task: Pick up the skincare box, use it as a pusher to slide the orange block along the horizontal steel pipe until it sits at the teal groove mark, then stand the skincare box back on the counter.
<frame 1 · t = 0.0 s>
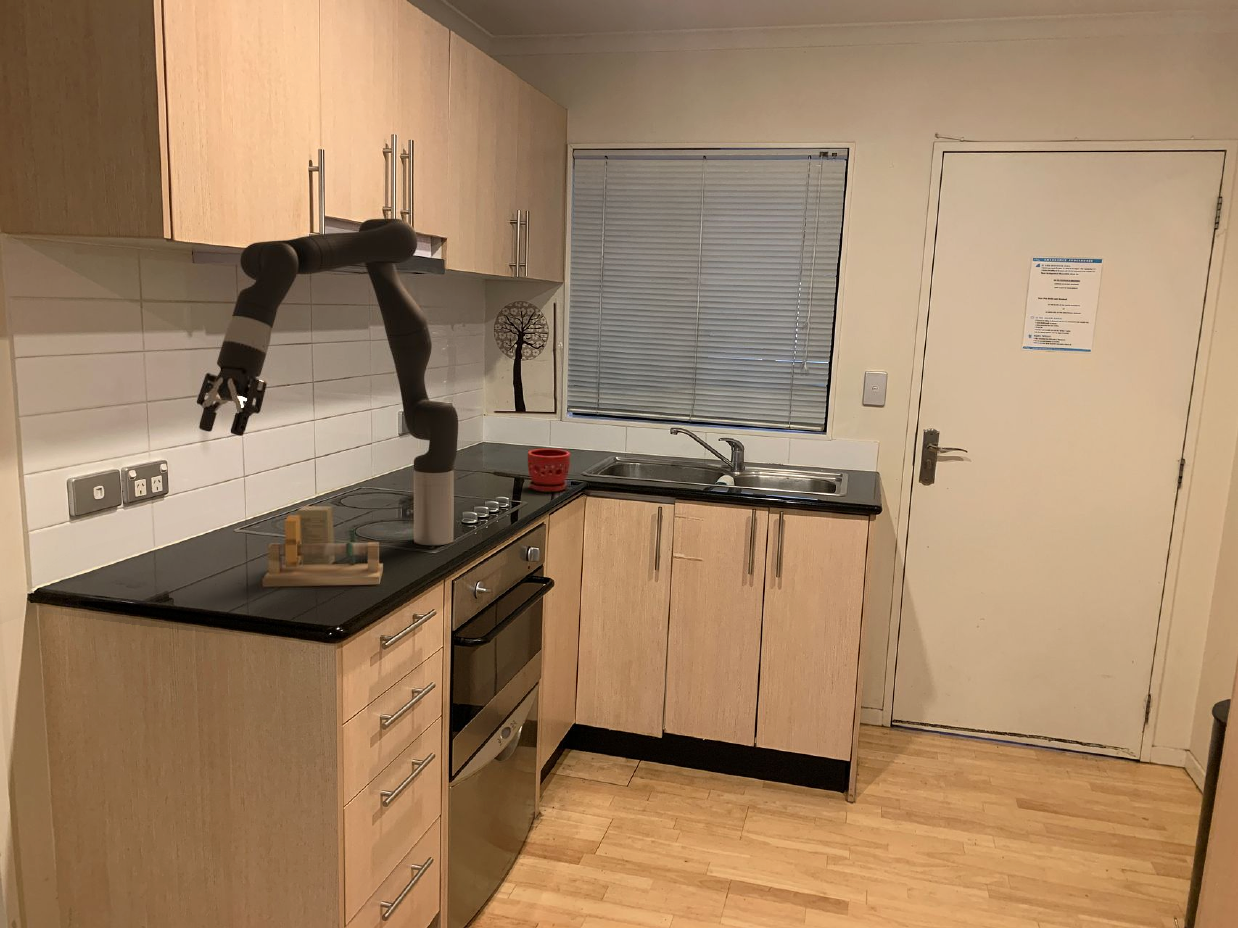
hand: (220, 432, 161), 31 cm above the counter, tool tilted 20°, fingers open, 8 cm apart
skincare box: (317, 564, 194), on the counter
plant pot: (548, 490, 283), on the counter
orange block: (293, 540, 181), point 8 cm above the counter, slide at 0.0 cm
pipe rig: (325, 578, 183), on the counter
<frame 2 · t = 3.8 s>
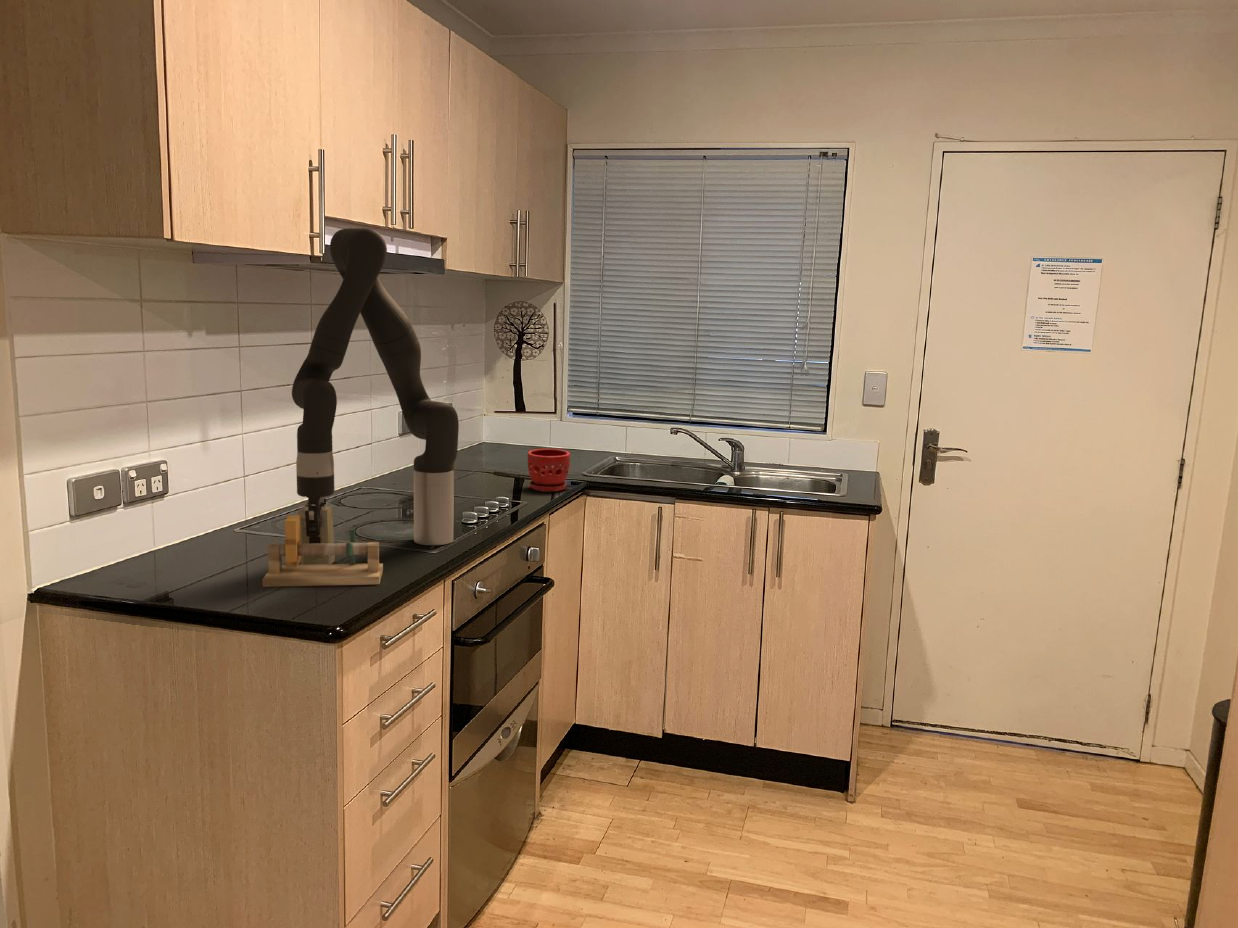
hand: (317, 550, 193), 3 cm above the counter, tool pointing down, fingers closed on skincare box, 4 cm apart
skincare box: (317, 564, 194), on the counter, touching gripper
everything else where it was.
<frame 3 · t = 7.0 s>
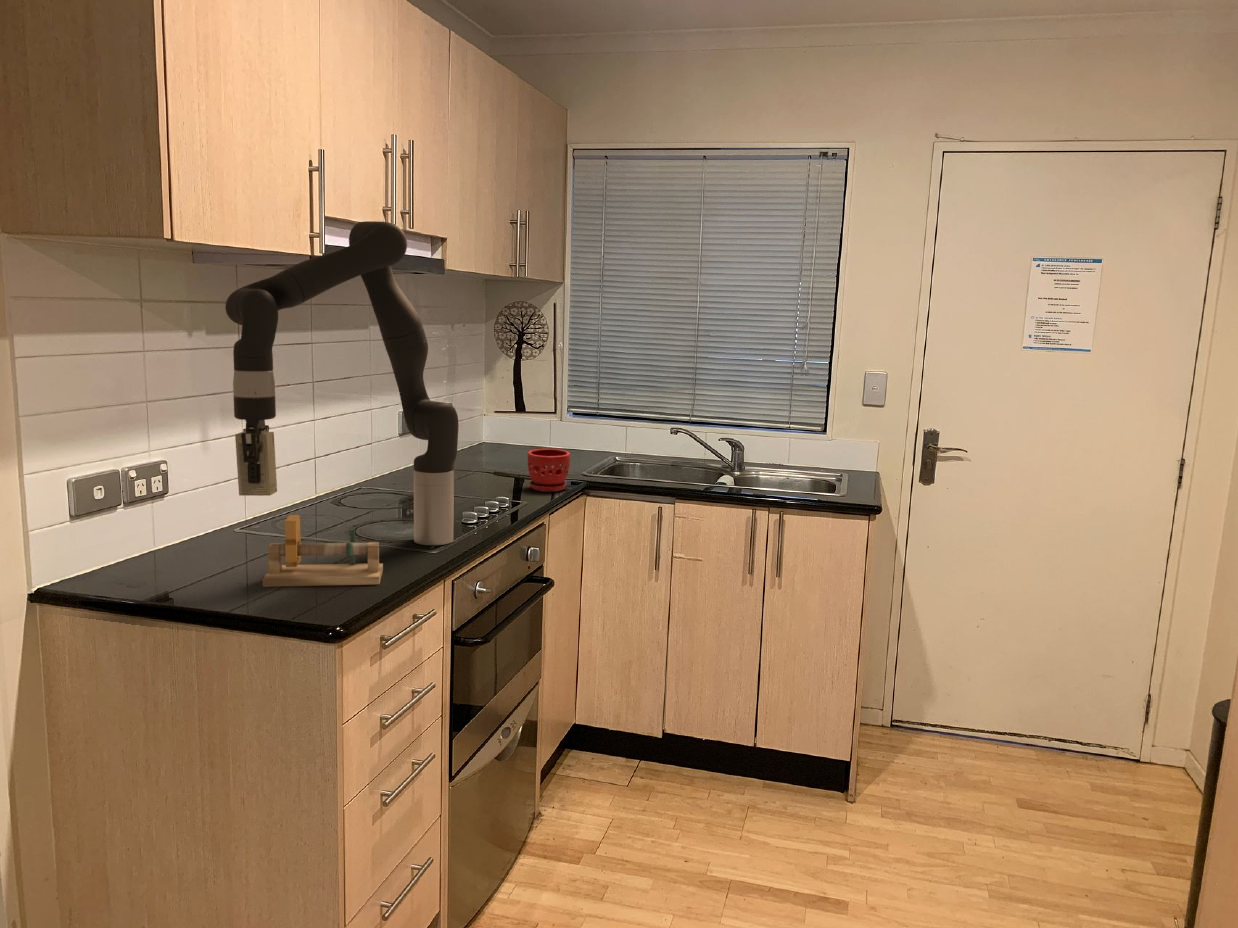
hand: (257, 480, 178), 20 cm above the counter, tool pointing down, fingers closed on skincare box, 4 cm apart
skincare box: (257, 495, 178), point 17 cm above the counter, touching gripper
everything else where it was.
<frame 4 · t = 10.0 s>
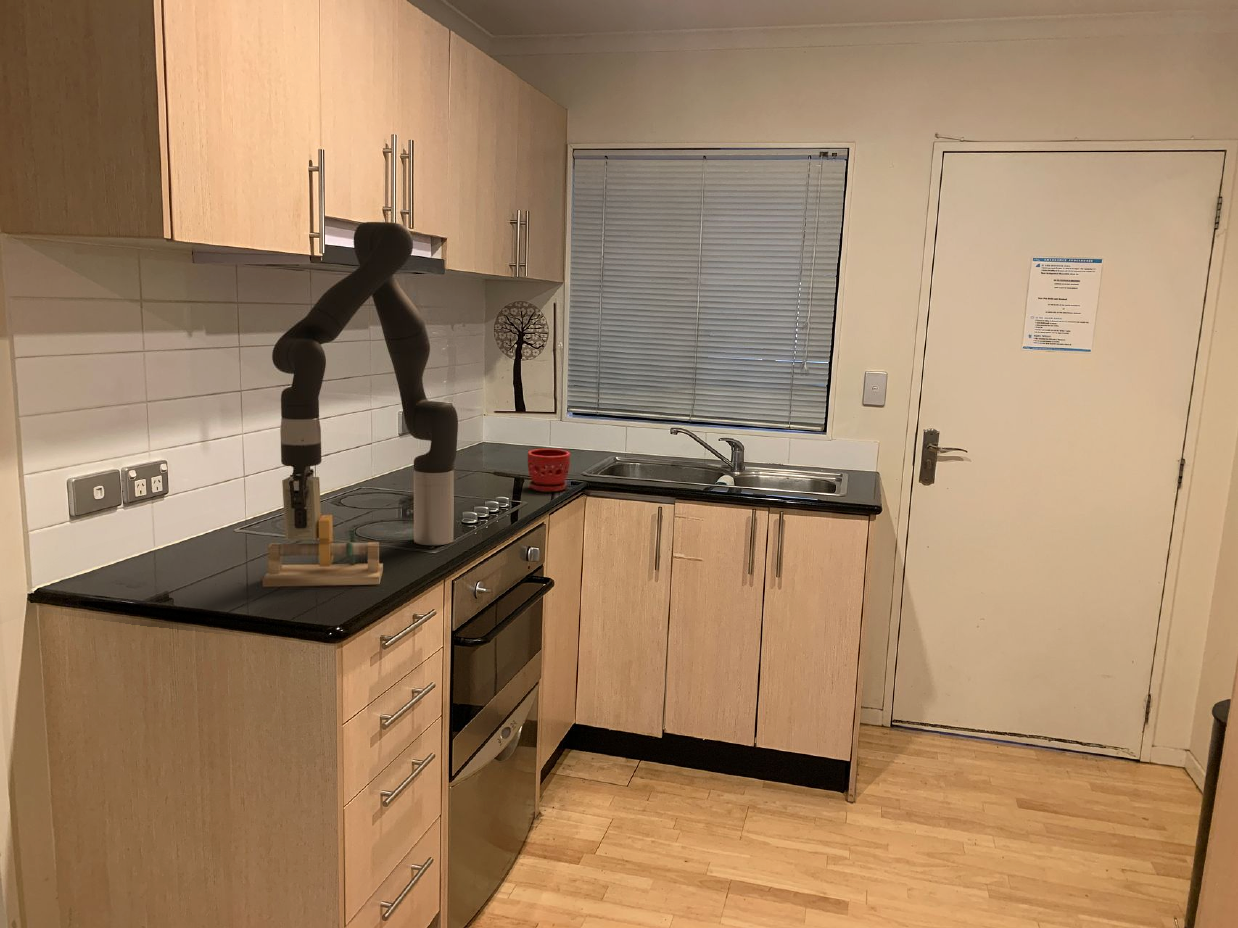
hand: (303, 524, 181), 11 cm above the counter, tool pointing down, fingers closed on skincare box, 4 cm apart
skincare box: (303, 539, 182), point 8 cm above the counter, touching orange block, gripper
orange block: (326, 540, 182), point 8 cm above the counter, slide at 6.3 cm, touching skincare box
everything else where it was.
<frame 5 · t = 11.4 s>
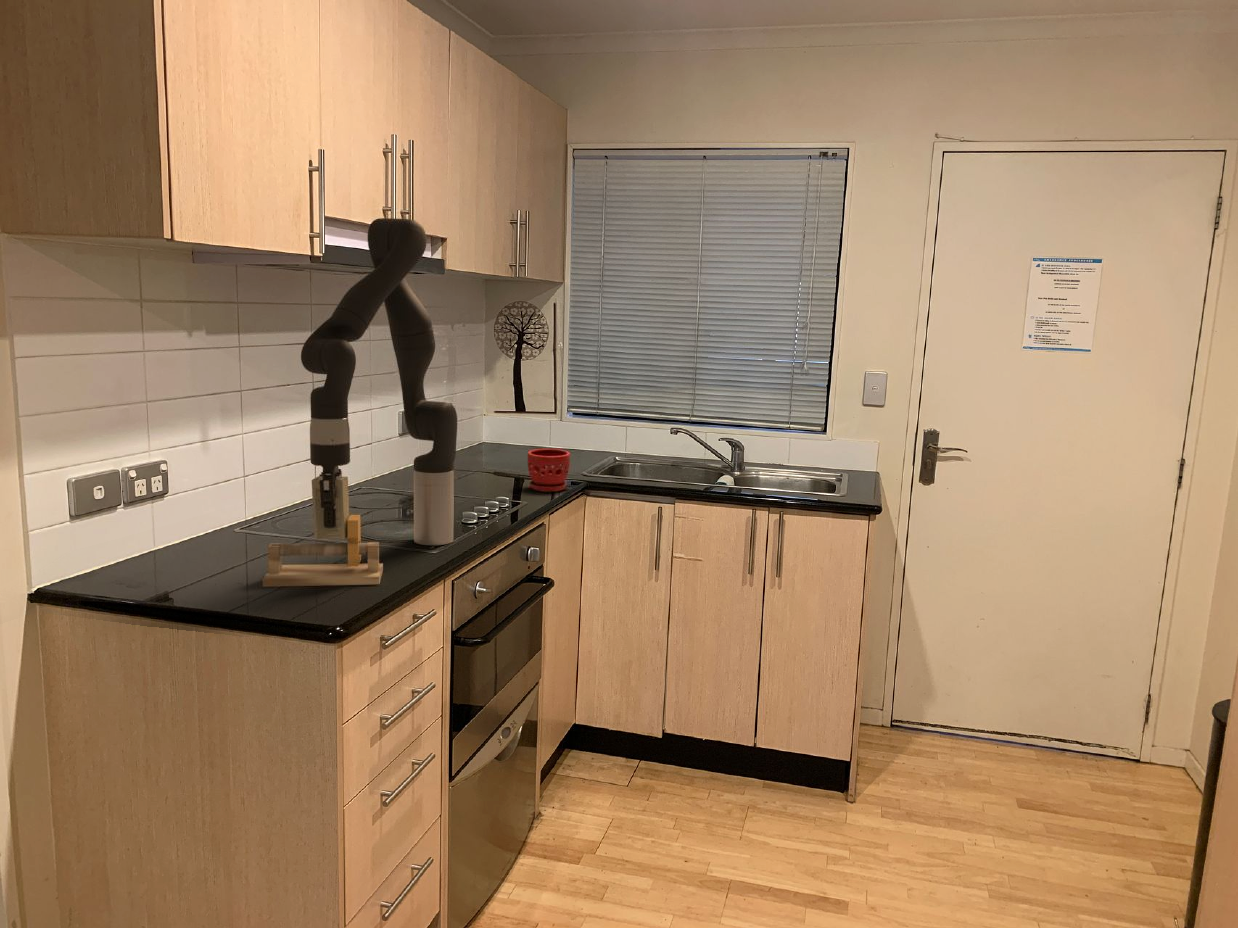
hand: (331, 523, 182), 11 cm above the counter, tool pointing down, fingers closed on skincare box, 4 cm apart
skincare box: (331, 538, 182), point 8 cm above the counter, touching gripper
orange block: (354, 540, 183), point 8 cm above the counter, slide at 11.8 cm
everything else where it was.
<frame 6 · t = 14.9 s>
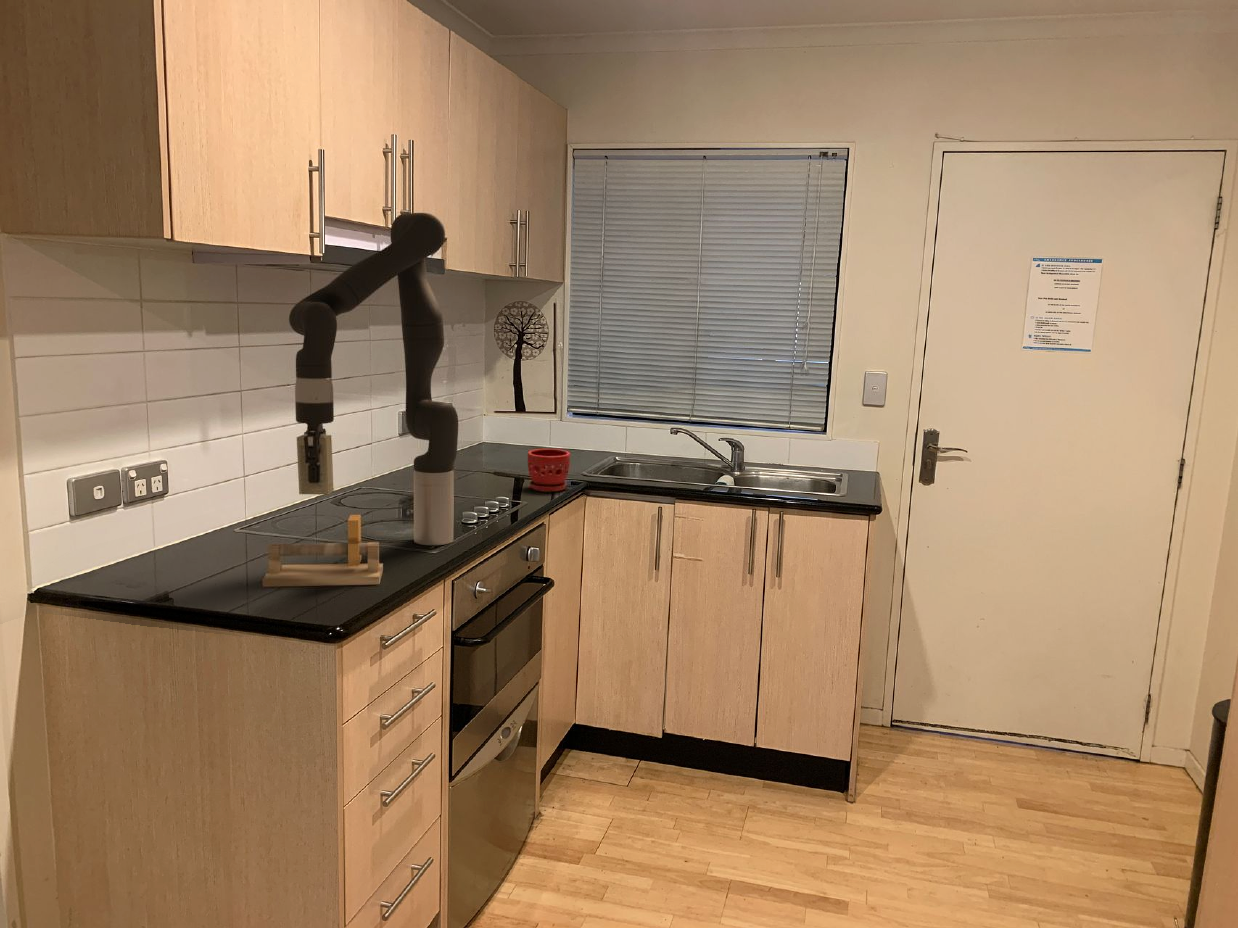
hand: (316, 480, 191), 18 cm above the counter, tool pointing down, fingers closed on skincare box, 4 cm apart
skincare box: (315, 494, 191), point 15 cm above the counter, touching gripper
everything else where it was.
when the fingers open (4 cm above the counter, at t = 17.7 s): skincare box stays where it is, on the counter.
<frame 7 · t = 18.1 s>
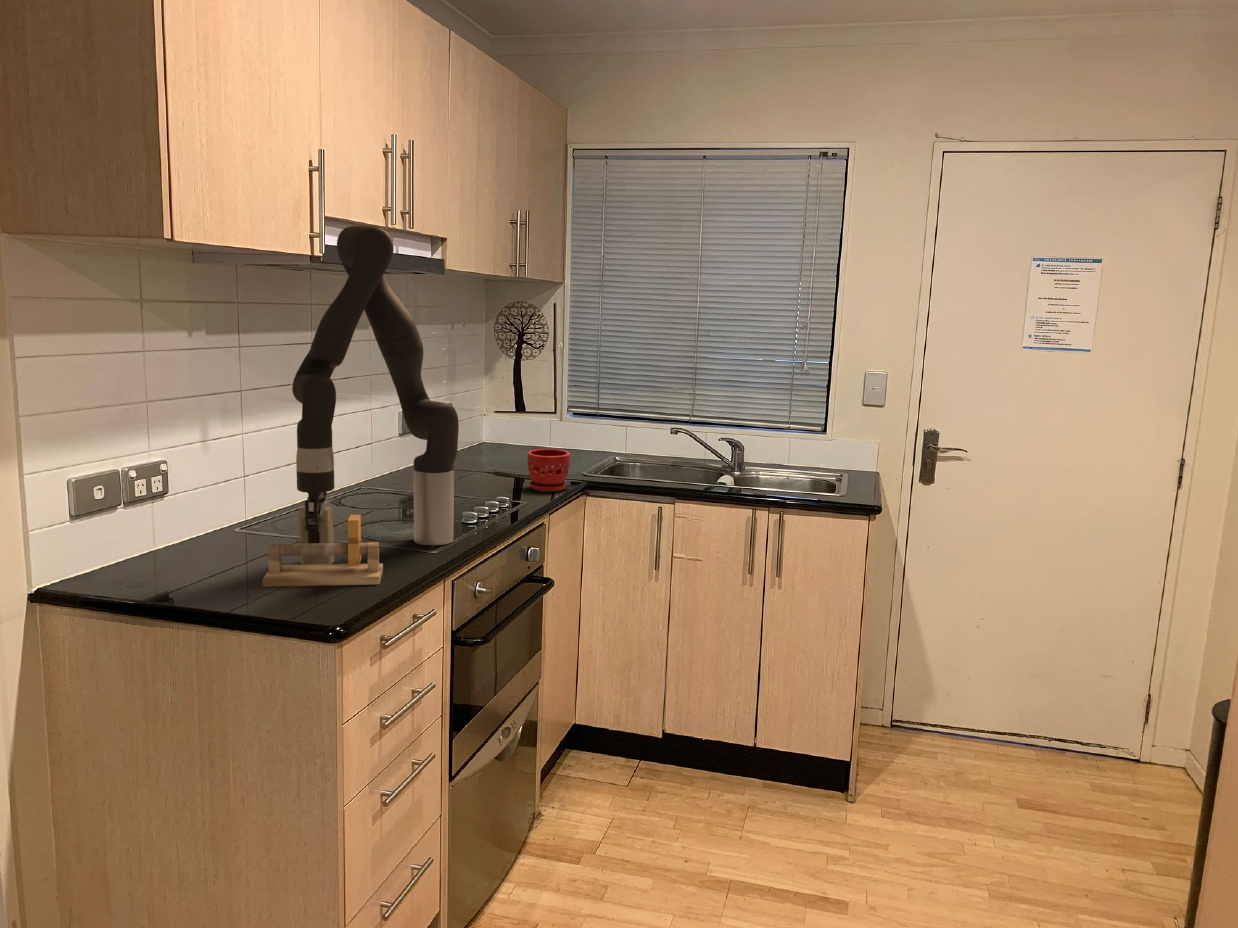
hand: (316, 543, 193), 4 cm above the counter, tool pointing down, fingers open, 7 cm apart
skincare box: (317, 564, 194), on the counter
everything else where it was.
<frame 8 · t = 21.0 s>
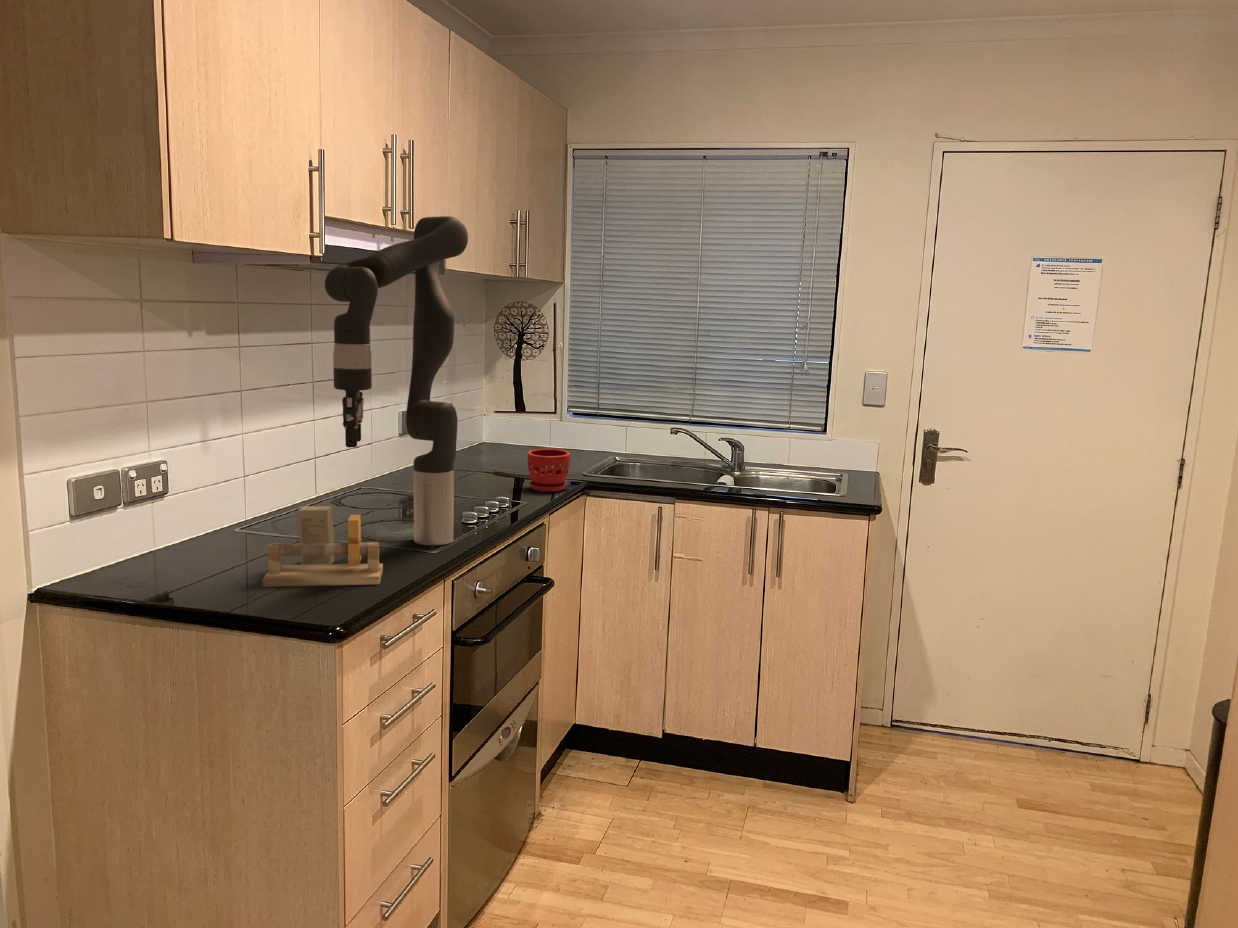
hand: (353, 444, 189), 26 cm above the counter, tool pointing down, fingers open, 8 cm apart
nothing on the counter moved.
at the end: orange block slide at 11.9 cm; skincare box tilted 0°; skincare box on the counter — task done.
